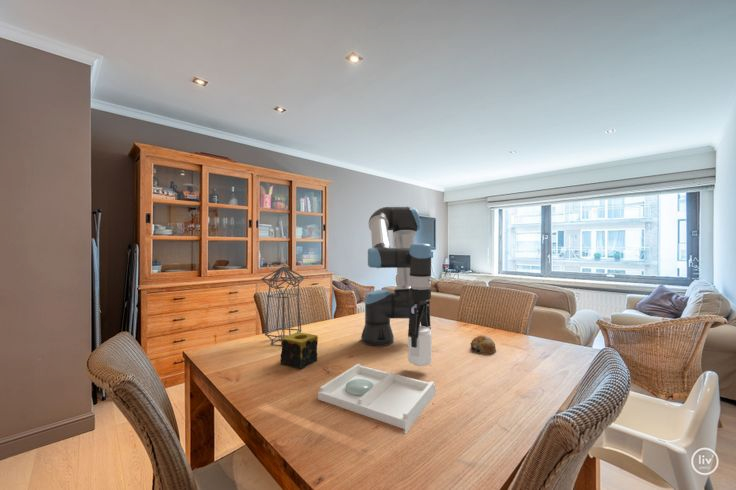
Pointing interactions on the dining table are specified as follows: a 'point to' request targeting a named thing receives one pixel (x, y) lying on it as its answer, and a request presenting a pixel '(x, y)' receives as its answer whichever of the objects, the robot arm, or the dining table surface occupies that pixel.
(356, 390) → the pale green smooth oval
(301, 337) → the candle
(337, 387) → the divided white tray
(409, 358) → the beverage can
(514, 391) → the dining table surface
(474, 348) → the bread roll
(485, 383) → the dining table surface
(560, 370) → the dining table surface
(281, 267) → the geometric lantern
